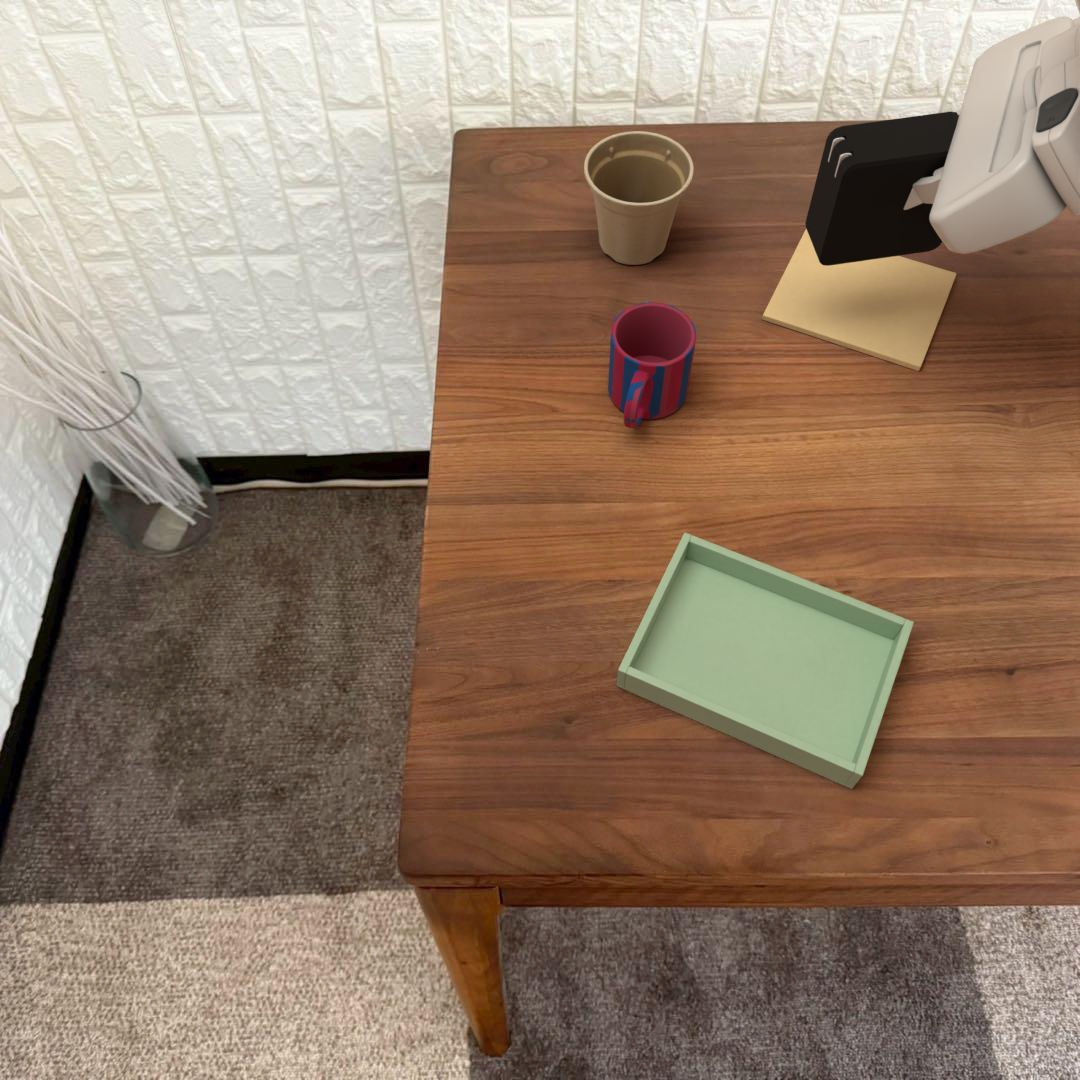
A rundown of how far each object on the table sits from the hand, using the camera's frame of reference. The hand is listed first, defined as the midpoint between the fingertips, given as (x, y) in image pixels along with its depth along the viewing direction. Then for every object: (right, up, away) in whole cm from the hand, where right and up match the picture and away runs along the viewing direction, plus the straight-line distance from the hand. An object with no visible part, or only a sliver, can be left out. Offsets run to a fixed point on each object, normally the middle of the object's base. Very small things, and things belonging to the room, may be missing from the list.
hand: (904, 178), depth 77 cm
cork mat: (+1, -6, +13) cm, 14 cm away
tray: (-12, -36, -5) cm, 39 cm away
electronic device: (-1, -4, +4) cm, 6 cm away
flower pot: (-19, 0, +17) cm, 26 cm away
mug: (-19, -16, +8) cm, 26 cm away
